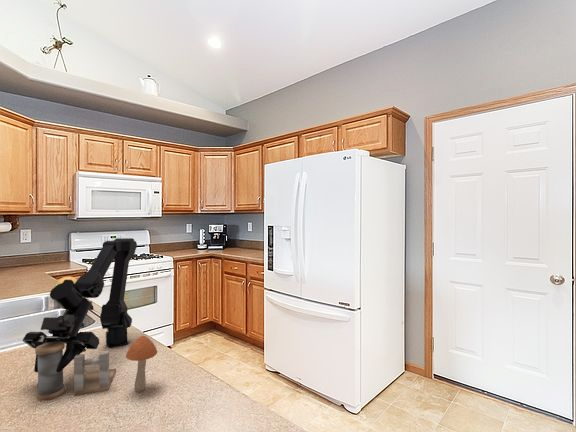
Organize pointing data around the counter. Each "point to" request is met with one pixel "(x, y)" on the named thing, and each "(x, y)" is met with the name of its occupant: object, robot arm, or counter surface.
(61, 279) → the hamburger
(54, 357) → the ball
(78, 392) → the grey h-shaped frame
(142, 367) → the mushroom
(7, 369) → the counter surface
